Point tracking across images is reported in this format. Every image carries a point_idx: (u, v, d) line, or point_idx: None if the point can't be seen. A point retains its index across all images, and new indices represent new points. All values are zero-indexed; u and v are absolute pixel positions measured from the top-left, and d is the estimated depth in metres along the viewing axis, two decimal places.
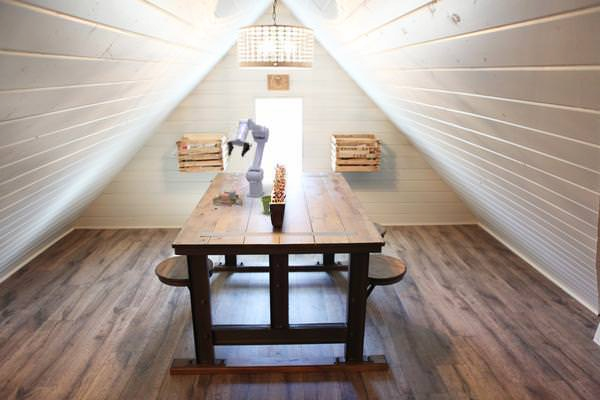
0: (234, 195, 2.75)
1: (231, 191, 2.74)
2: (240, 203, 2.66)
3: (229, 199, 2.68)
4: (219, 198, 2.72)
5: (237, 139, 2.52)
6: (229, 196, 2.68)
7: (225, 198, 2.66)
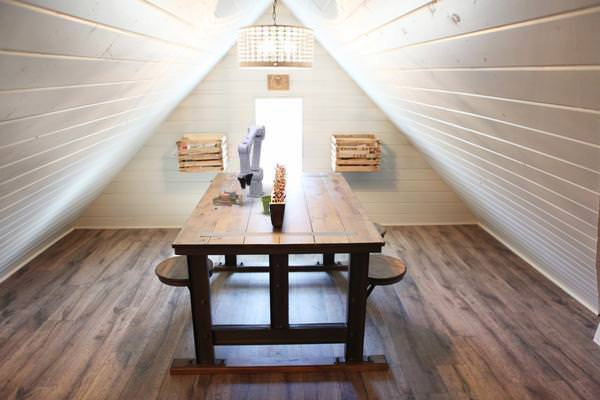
0: (234, 195, 2.75)
1: (231, 191, 2.74)
2: (240, 203, 2.66)
3: (229, 199, 2.68)
4: (219, 198, 2.72)
5: (250, 173, 2.63)
6: (229, 196, 2.68)
7: (225, 198, 2.66)
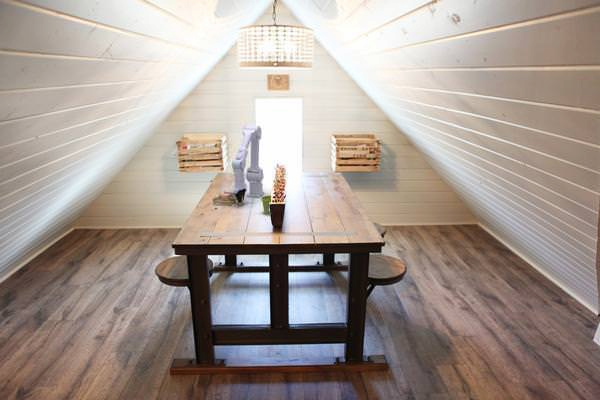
0: (234, 195, 2.75)
1: (231, 191, 2.74)
2: (240, 203, 2.66)
3: (229, 199, 2.68)
4: (219, 198, 2.72)
5: None
6: (229, 196, 2.68)
7: (225, 198, 2.66)
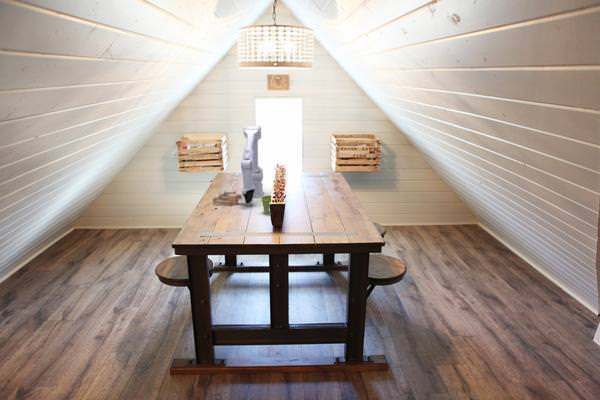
0: None
1: (231, 191, 2.74)
2: (248, 204, 2.64)
3: (236, 200, 2.67)
4: (219, 198, 2.72)
5: (253, 188, 2.61)
6: (236, 197, 2.67)
7: (232, 199, 2.65)
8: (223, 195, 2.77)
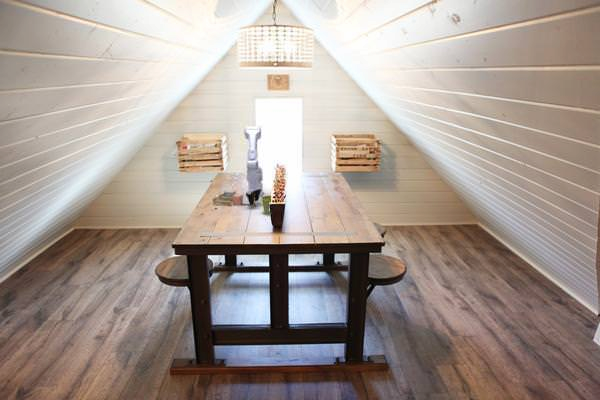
0: None
1: (231, 191, 2.74)
2: None
3: (241, 200, 2.66)
4: (219, 198, 2.72)
5: None
6: (241, 197, 2.66)
7: (237, 199, 2.64)
8: (223, 195, 2.77)
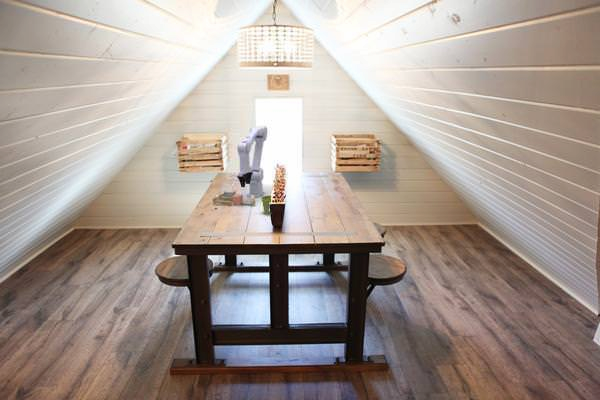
0: None
1: (231, 191, 2.74)
2: (252, 204, 2.64)
3: (241, 200, 2.66)
4: (219, 198, 2.72)
5: (249, 171, 2.65)
6: (241, 197, 2.66)
7: (237, 199, 2.64)
8: (223, 195, 2.77)
